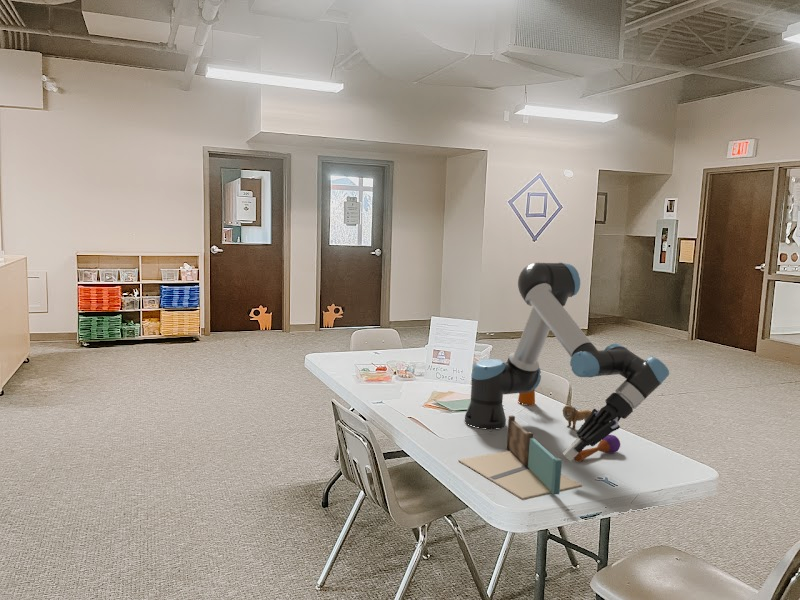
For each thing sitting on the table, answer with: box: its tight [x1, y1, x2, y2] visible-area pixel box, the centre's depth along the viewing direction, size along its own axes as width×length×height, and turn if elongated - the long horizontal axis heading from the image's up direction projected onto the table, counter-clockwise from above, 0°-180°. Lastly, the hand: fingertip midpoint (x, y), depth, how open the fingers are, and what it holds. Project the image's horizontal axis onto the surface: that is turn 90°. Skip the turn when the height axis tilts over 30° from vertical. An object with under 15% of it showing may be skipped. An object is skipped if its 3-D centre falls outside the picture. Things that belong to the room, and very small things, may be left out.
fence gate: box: [528, 437, 563, 495], centre depth 181 cm, size 20×2×10 cm, turn 10°
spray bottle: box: [517, 341, 536, 406], centre depth 263 cm, size 7×11×26 cm, turn 111°
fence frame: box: [506, 415, 535, 468], centre depth 201 cm, size 18×2×11 cm, turn 10°
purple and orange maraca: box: [573, 434, 621, 463], centre depth 207 cm, size 6×6×20 cm
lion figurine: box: [562, 404, 592, 431], centre depth 235 cm, size 15×5×9 cm, turn 110°
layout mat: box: [457, 450, 583, 500], centre depth 189 cm, size 30×22×1 cm
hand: (566, 457), depth 185 cm, fingers closed
